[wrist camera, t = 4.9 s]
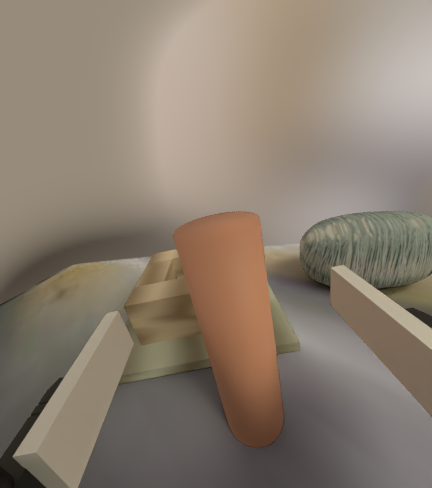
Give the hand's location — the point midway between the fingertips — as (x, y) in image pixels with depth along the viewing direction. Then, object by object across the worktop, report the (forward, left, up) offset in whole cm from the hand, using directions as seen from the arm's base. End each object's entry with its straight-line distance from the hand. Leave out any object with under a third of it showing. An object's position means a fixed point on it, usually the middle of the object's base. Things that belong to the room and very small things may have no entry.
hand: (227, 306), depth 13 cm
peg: (0, +1, -8) cm, 8 cm away
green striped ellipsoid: (-16, -11, -9) cm, 21 cm away
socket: (+4, -12, -8) cm, 15 cm away
